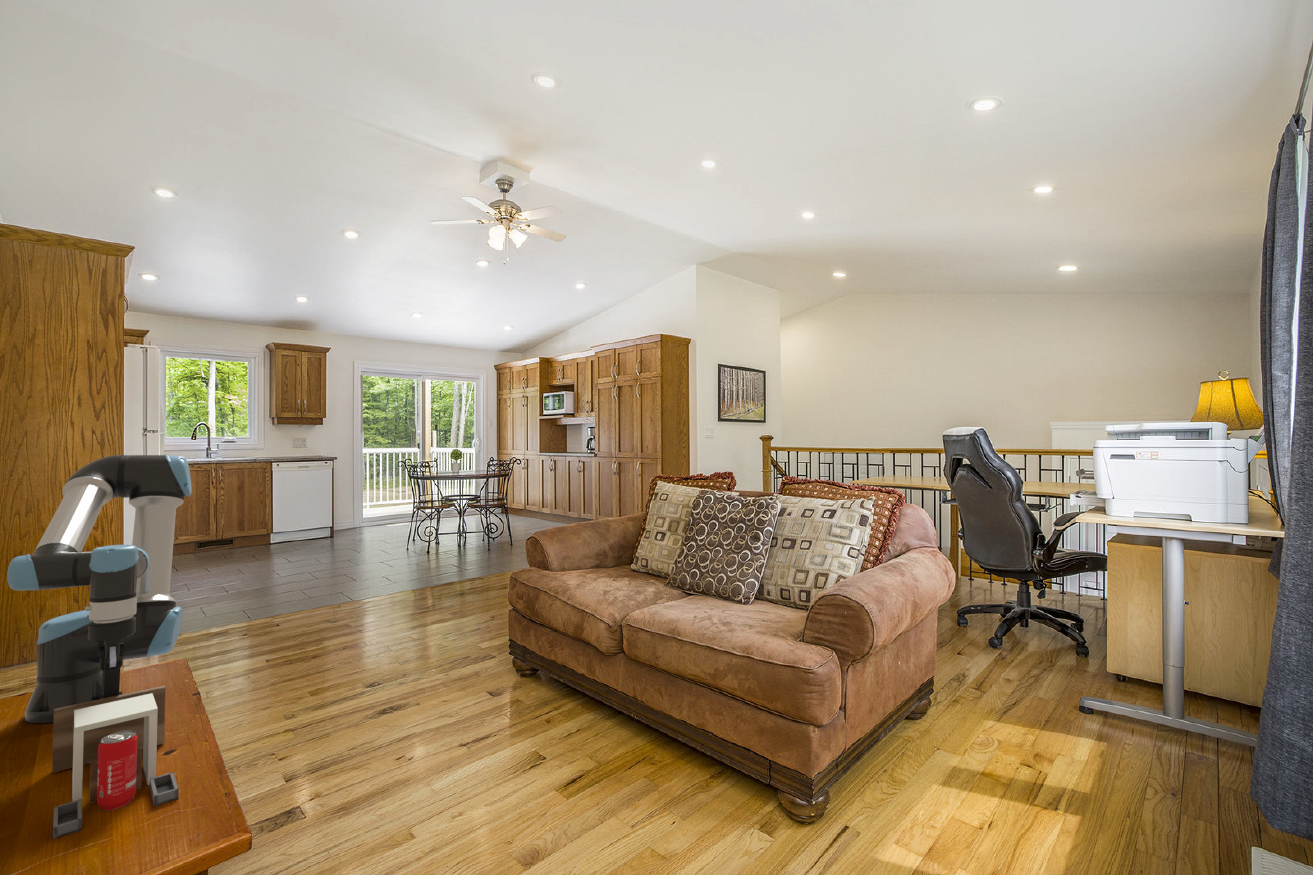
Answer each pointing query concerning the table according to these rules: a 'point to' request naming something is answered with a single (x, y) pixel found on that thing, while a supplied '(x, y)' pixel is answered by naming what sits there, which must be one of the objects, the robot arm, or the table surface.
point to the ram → (101, 735)
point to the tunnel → (113, 715)
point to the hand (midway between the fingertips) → (109, 730)
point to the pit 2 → (163, 789)
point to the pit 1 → (67, 818)
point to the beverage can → (117, 770)
